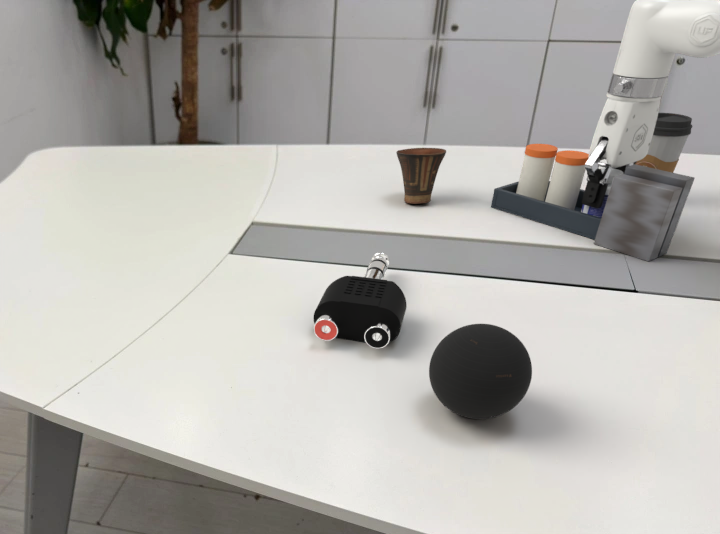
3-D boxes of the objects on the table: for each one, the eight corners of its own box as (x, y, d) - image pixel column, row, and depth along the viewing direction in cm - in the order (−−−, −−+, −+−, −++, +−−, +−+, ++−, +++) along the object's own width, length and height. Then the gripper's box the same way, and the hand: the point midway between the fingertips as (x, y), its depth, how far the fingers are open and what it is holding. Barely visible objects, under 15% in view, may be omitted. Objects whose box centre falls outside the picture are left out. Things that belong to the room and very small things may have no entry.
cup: (413, 190, 135) (420, 139, 129) (448, 202, 129) (457, 148, 123) (380, 199, 131) (386, 146, 126) (415, 211, 125) (422, 156, 119)
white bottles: (579, 212, 120) (596, 154, 115) (562, 219, 118) (578, 160, 112) (524, 197, 128) (537, 142, 123) (507, 202, 126) (519, 146, 120)
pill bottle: (619, 226, 114) (635, 174, 110) (592, 230, 113) (608, 177, 109) (596, 216, 119) (612, 165, 114) (571, 219, 118) (585, 168, 113)
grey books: (666, 253, 106) (695, 177, 99) (648, 261, 104) (676, 184, 97) (611, 236, 112) (634, 164, 105) (593, 244, 110) (615, 170, 103)
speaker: (452, 374, 79) (468, 298, 74) (536, 409, 73) (560, 329, 67) (404, 410, 74) (417, 330, 68) (490, 451, 67) (512, 367, 62)
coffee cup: (607, 201, 126) (632, 118, 118) (624, 191, 131) (650, 109, 122) (655, 212, 121) (686, 125, 113) (672, 200, 125) (702, 116, 117)
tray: (640, 226, 116) (646, 206, 114) (601, 242, 110) (607, 221, 108) (529, 194, 131) (533, 176, 129) (490, 207, 126) (494, 188, 124)
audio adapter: (309, 307, 83) (347, 235, 102) (307, 345, 86) (344, 268, 105) (400, 320, 79) (422, 243, 99) (394, 359, 82) (416, 276, 102)
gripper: (629, 98, 98) (593, 219, 108) (690, 83, 105) (651, 197, 115) (580, 91, 103) (550, 206, 113) (642, 77, 110) (608, 186, 120)
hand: (601, 201), depth 114 cm, fingers closed on pill bottle, 5 cm apart
